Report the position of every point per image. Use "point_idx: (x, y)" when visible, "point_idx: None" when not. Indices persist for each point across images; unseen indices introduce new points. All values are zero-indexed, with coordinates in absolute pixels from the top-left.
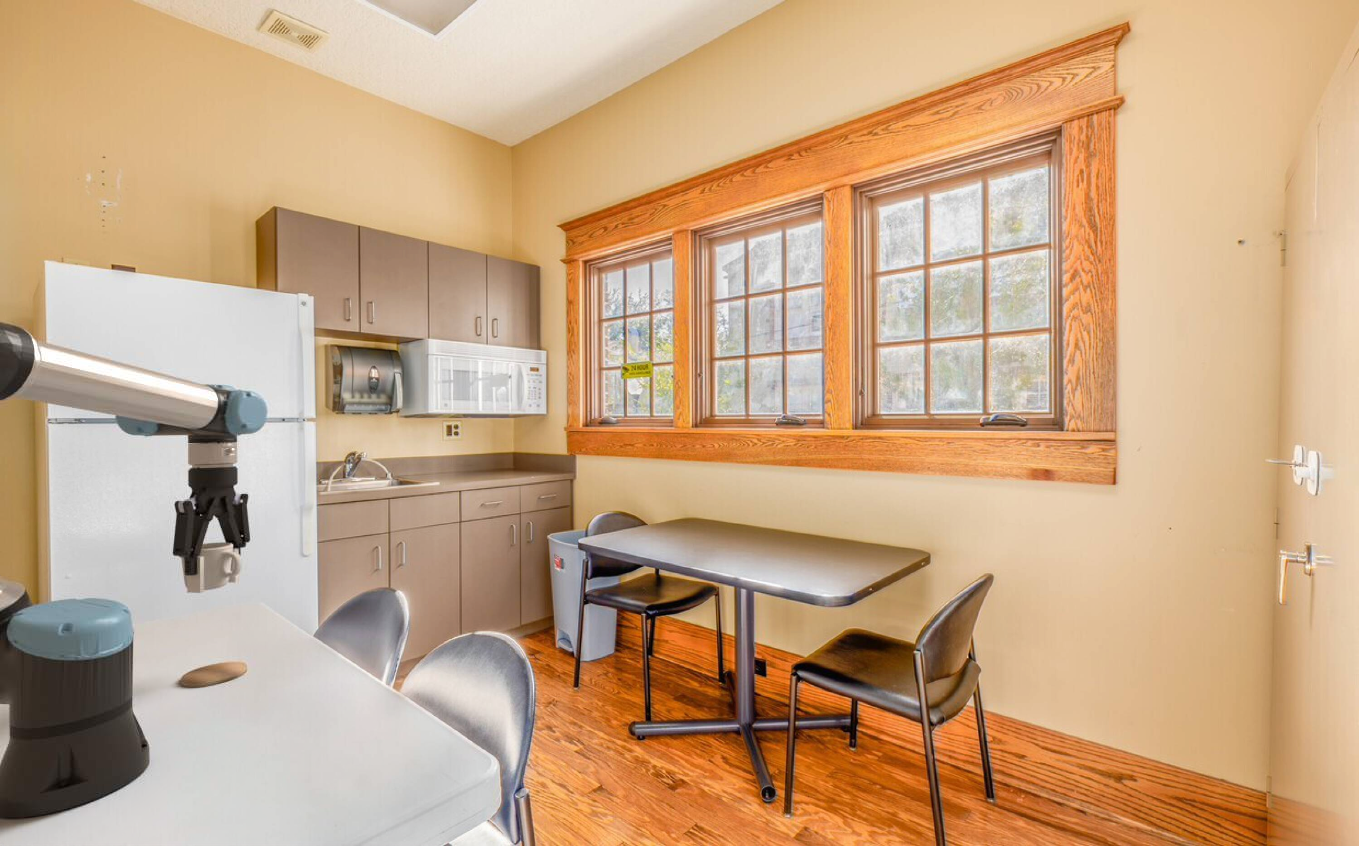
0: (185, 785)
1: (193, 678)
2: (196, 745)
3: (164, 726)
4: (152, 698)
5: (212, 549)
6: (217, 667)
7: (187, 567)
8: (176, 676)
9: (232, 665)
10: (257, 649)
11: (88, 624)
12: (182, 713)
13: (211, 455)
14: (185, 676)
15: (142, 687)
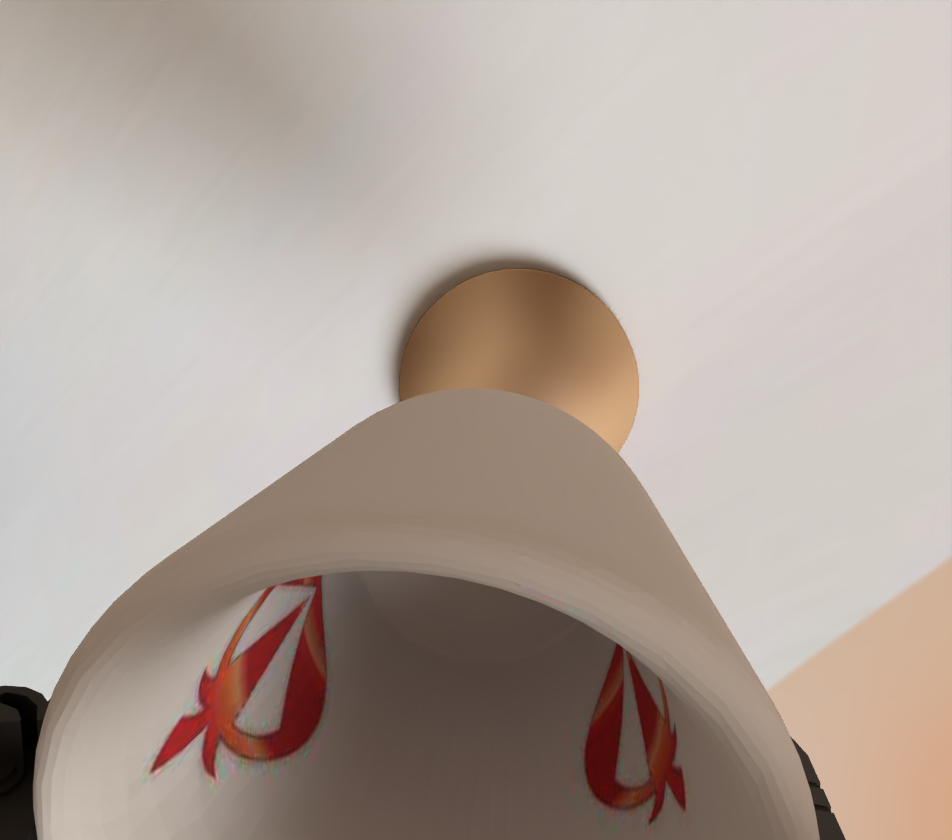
0: None
1: (444, 352)
2: (32, 683)
3: (108, 521)
4: (295, 299)
5: None
6: (570, 366)
7: None
8: (520, 208)
9: (590, 419)
10: (870, 354)
11: None
12: (193, 510)
13: None
14: (464, 299)
15: (397, 151)
